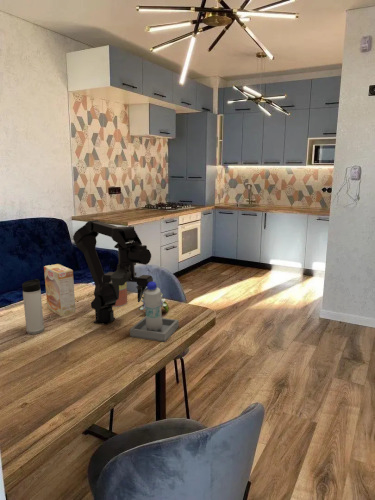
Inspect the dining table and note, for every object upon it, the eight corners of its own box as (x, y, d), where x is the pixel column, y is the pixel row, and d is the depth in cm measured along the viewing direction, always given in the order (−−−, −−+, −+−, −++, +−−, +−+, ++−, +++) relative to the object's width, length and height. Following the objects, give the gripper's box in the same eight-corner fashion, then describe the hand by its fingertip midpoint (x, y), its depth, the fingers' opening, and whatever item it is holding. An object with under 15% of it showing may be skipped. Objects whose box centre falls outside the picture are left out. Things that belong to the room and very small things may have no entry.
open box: (130, 336, 141) (129, 329, 140) (146, 322, 153) (146, 315, 153) (164, 341, 136) (164, 334, 135) (178, 327, 149) (178, 319, 148)
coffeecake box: (46, 307, 171) (43, 266, 167) (61, 304, 176) (58, 263, 172) (60, 317, 160) (57, 272, 156) (76, 312, 165) (73, 269, 161)
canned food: (119, 297, 185) (118, 273, 182) (132, 303, 177) (131, 278, 174) (98, 302, 177) (97, 278, 175) (111, 309, 169) (109, 283, 167)
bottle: (165, 332, 142) (162, 285, 135) (147, 335, 141) (144, 288, 133) (161, 322, 148) (158, 277, 141) (144, 325, 147) (140, 279, 139)
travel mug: (48, 329, 148) (44, 279, 144) (35, 335, 142) (30, 284, 138) (36, 326, 150) (31, 278, 146) (23, 332, 144) (17, 282, 140)
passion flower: (153, 328, 162) (137, 309, 156) (149, 314, 171) (134, 296, 166) (175, 313, 161) (159, 294, 156) (169, 300, 171) (155, 282, 166)
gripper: (92, 263, 136) (95, 305, 139) (139, 267, 130) (141, 310, 133) (108, 257, 146) (110, 295, 150) (152, 260, 140) (154, 300, 144)
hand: (128, 300), depth 144 cm, fingers open, 9 cm apart
